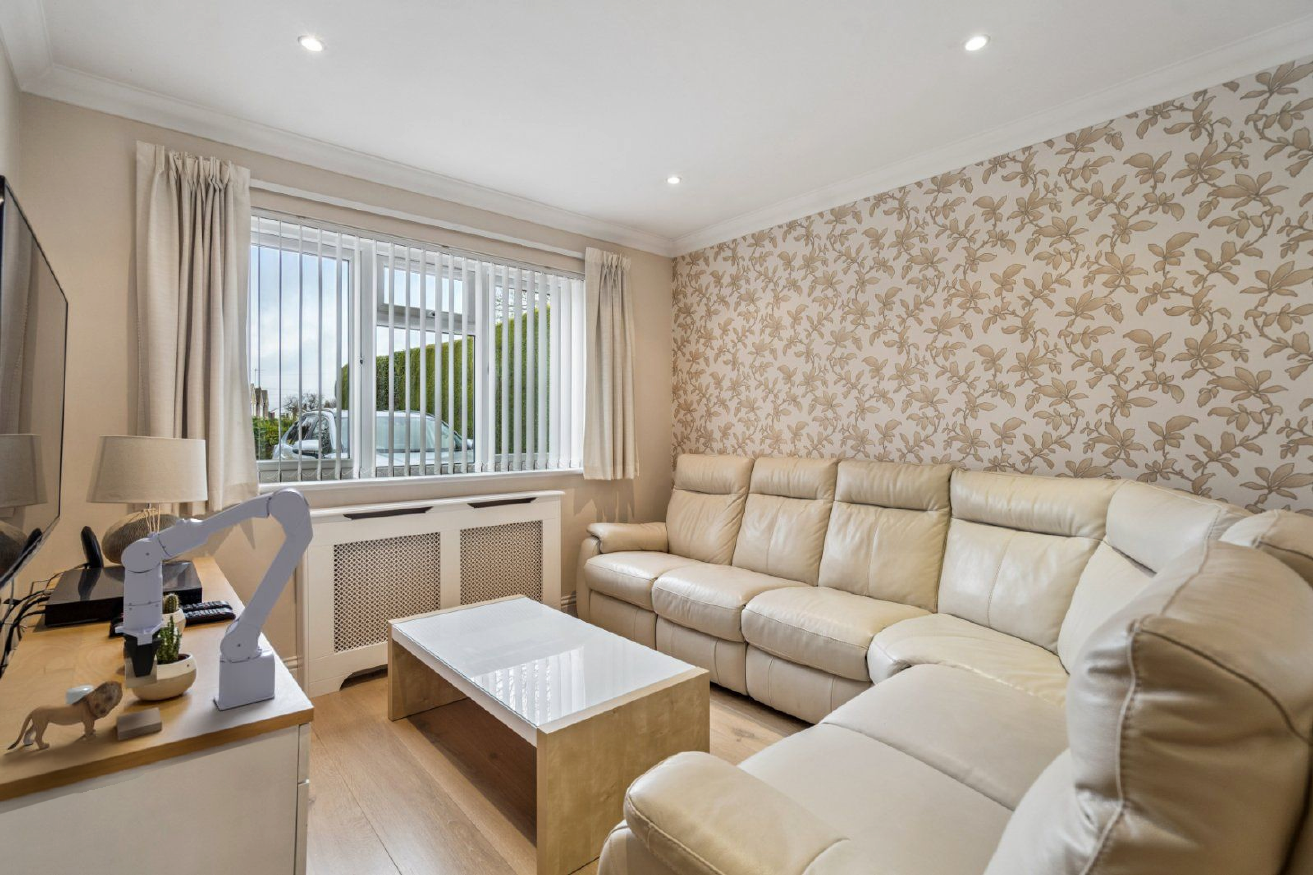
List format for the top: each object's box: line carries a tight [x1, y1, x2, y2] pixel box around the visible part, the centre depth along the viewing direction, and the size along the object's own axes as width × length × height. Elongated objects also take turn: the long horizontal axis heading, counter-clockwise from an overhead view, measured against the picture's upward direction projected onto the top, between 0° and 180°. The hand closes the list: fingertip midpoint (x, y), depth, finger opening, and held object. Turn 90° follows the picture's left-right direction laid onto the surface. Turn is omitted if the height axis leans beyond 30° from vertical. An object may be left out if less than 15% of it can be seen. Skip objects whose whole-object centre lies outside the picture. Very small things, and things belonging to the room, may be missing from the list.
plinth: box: [115, 706, 163, 741], centre depth 112 cm, size 6×8×2 cm
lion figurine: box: [6, 680, 124, 751], centre depth 107 cm, size 15×5×9 cm, turn 131°
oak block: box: [124, 654, 158, 690], centre depth 117 cm, size 4×4×4 cm
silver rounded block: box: [65, 684, 94, 705], centre depth 121 cm, size 4×4×3 cm
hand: (142, 671), depth 117 cm, fingers closed on oak block, 4 cm apart
